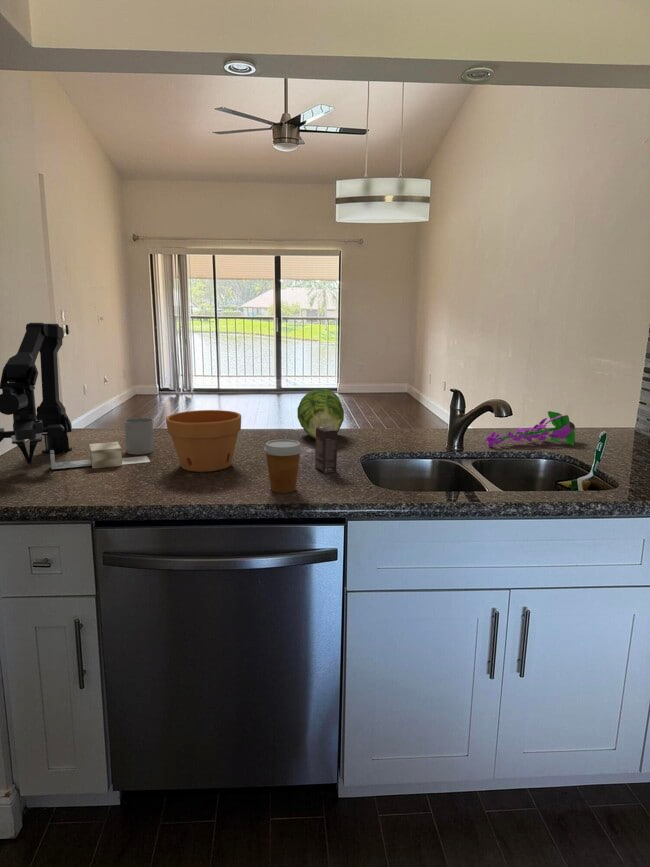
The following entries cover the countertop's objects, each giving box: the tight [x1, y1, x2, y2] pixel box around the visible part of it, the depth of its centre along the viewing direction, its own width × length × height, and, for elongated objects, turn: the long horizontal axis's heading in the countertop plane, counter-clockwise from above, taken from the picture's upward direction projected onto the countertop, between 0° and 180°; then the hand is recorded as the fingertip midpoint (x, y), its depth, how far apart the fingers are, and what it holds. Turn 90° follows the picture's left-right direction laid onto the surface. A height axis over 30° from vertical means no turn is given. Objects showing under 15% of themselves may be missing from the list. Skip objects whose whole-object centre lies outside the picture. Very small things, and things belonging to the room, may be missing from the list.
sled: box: [49, 450, 92, 470], centre depth 168 cm, size 18×5×4 cm, turn 115°
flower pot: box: [165, 409, 242, 473], centre depth 168 cm, size 21×21×15 cm
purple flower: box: [485, 410, 576, 448], centre depth 200 cm, size 12×16×35 cm
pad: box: [122, 455, 151, 466], centre depth 174 cm, size 8×7×1 cm
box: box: [314, 427, 339, 474], centre depth 165 cm, size 6×4×12 cm
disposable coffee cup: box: [263, 439, 303, 494], centre depth 147 cm, size 10×10×12 cm
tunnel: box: [88, 441, 123, 469], centre depth 170 cm, size 8×9×5 cm
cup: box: [124, 417, 155, 455], centre depth 184 cm, size 8×8×10 cm
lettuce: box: [296, 388, 345, 440], centre depth 204 cm, size 17×23×16 cm
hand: (29, 463), depth 162 cm, fingers closed
